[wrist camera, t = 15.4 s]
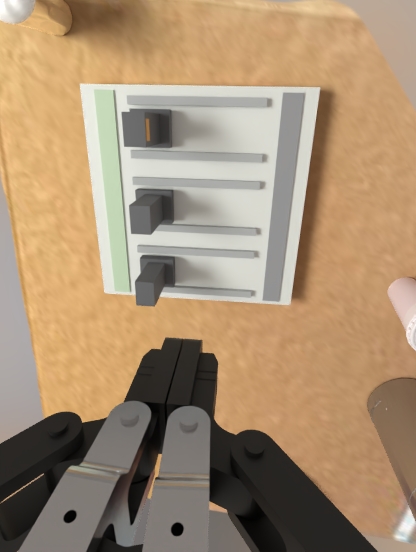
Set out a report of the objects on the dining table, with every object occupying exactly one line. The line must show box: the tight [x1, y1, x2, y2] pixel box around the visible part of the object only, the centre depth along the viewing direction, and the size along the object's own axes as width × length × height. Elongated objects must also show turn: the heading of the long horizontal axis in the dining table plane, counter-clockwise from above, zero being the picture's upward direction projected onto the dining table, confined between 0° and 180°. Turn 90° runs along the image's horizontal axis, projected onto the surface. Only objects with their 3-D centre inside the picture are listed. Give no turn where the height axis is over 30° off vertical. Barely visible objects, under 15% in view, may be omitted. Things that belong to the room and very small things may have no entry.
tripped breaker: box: [121, 108, 172, 148], centre depth 32 cm, size 4×4×7 cm
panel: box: [80, 84, 320, 306], centre depth 36 cm, size 24×24×9 cm
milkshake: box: [0, 0, 73, 36], centre depth 30 cm, size 5×5×10 cm
